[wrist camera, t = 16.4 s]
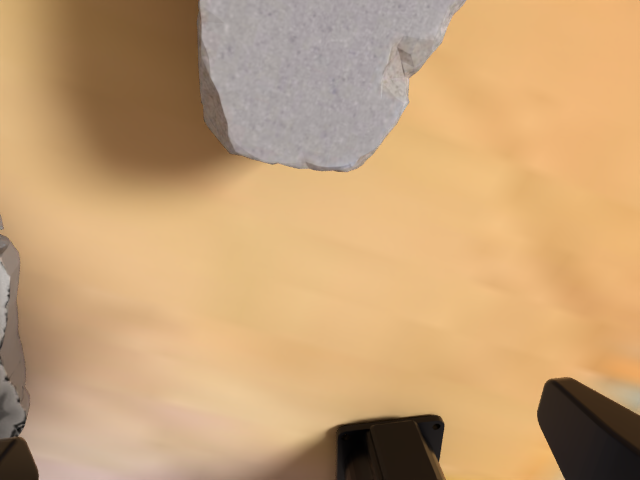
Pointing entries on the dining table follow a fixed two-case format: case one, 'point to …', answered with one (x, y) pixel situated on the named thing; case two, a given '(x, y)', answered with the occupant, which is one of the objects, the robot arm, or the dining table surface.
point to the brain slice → (11, 346)
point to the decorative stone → (312, 74)
